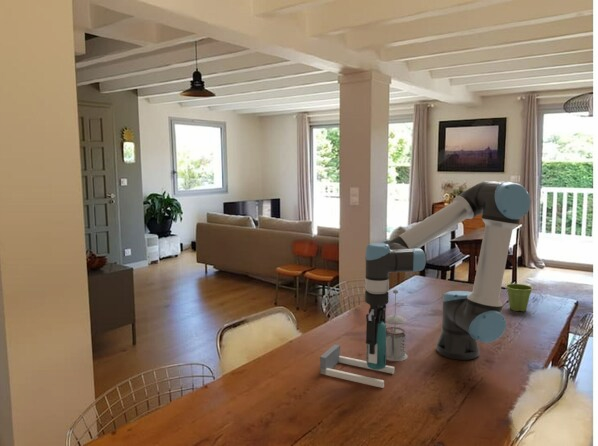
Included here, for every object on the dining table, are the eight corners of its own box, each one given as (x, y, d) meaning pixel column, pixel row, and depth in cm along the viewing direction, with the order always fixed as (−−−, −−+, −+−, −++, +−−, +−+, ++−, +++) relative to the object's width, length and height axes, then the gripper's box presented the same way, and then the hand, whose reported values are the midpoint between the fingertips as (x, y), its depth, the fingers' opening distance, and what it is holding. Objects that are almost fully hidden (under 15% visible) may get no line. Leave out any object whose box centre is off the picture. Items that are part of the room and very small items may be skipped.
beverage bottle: (386, 374, 152) (387, 315, 149) (365, 373, 153) (366, 314, 151) (386, 366, 158) (387, 309, 156) (366, 364, 160) (367, 308, 157)
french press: (409, 352, 176) (410, 287, 173) (405, 364, 165) (407, 295, 162) (382, 348, 179) (384, 285, 176) (377, 361, 168) (378, 293, 165)
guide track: (394, 372, 159) (394, 355, 158) (382, 388, 148) (383, 370, 147) (334, 360, 169) (335, 344, 169) (320, 373, 158) (320, 356, 158)
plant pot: (532, 308, 228) (534, 285, 226) (529, 314, 218) (531, 291, 216) (506, 304, 234) (507, 282, 232) (502, 310, 224) (503, 287, 222)
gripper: (374, 283, 162) (373, 347, 165) (355, 296, 146) (355, 367, 149) (396, 285, 158) (394, 351, 161) (379, 299, 142) (377, 372, 145)
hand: (375, 358), depth 155 cm, fingers closed on beverage bottle, 5 cm apart
